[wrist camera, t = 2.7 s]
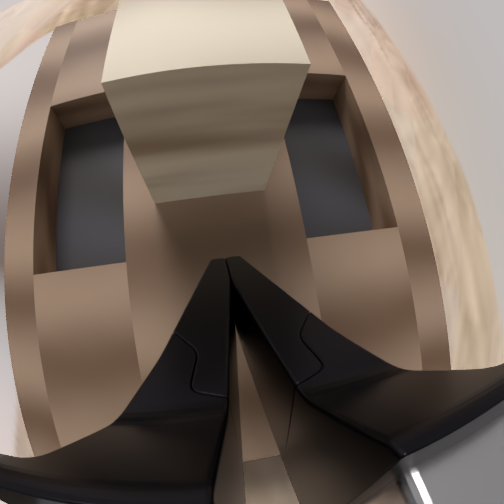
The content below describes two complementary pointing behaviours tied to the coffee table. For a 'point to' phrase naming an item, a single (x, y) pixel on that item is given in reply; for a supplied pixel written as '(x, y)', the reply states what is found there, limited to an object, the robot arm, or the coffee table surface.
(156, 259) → the board
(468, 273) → the coffee table surface
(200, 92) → the birch block
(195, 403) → the robot arm
